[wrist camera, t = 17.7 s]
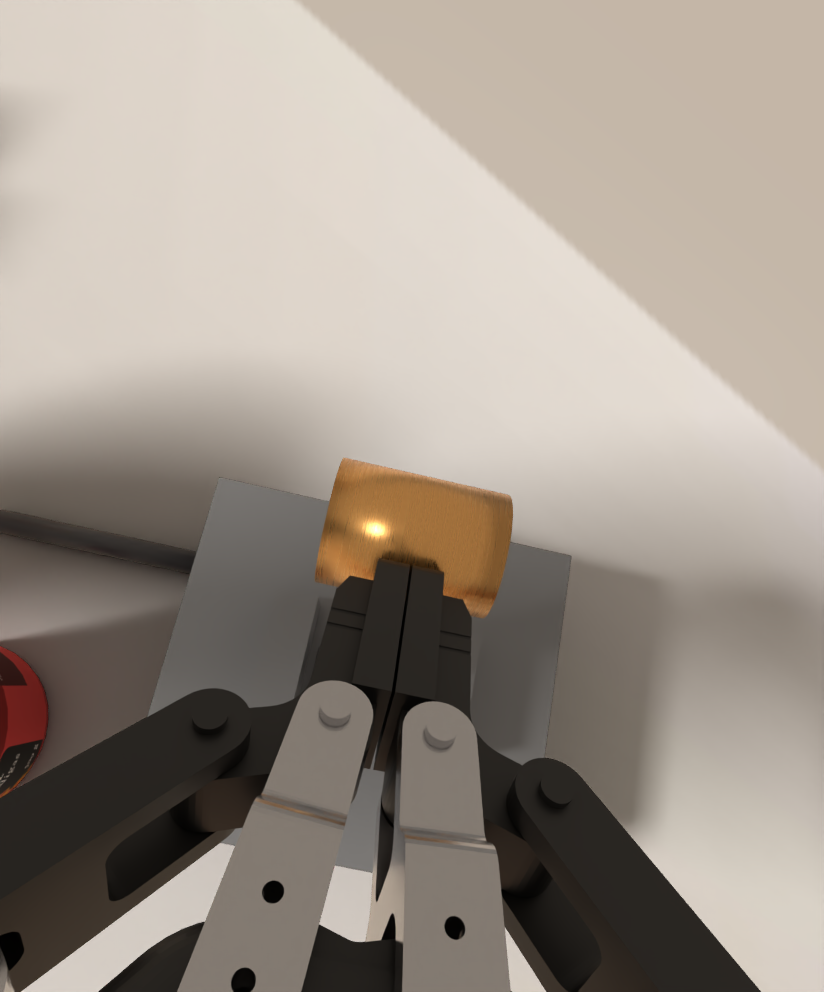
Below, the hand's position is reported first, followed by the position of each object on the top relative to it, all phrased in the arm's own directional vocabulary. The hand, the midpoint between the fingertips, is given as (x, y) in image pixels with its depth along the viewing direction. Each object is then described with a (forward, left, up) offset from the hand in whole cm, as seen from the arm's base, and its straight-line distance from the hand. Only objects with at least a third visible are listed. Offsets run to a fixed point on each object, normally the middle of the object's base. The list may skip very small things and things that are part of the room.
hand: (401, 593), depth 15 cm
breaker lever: (0, -2, -12) cm, 12 cm away
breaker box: (-6, -2, -22) cm, 23 cm away
